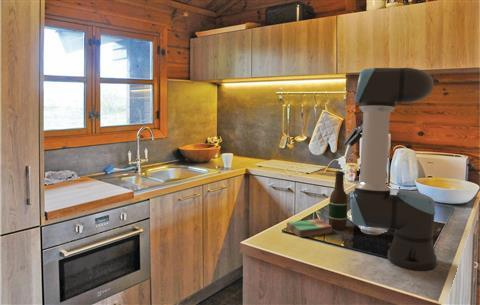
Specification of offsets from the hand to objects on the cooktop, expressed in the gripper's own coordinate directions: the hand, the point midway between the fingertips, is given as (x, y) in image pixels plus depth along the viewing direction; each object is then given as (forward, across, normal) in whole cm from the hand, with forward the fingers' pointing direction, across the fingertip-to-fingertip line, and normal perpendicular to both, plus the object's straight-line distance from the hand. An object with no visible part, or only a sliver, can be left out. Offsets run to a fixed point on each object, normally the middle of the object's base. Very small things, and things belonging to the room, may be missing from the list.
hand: (358, 157), depth 168 cm
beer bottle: (+30, +6, -6) cm, 31 cm away
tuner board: (+36, +10, +5) cm, 38 cm away
